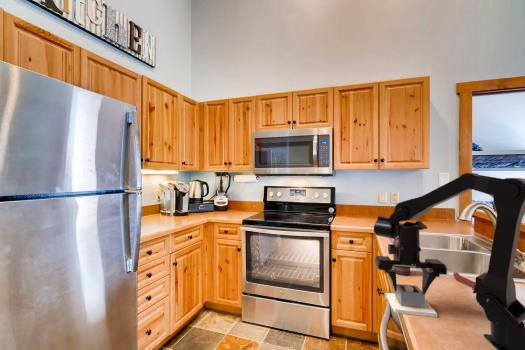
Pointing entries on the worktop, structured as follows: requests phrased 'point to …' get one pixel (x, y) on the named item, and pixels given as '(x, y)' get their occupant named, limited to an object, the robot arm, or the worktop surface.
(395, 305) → the post base
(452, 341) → the worktop surface
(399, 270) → the can
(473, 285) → the pliers
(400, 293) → the grey hollow square box
